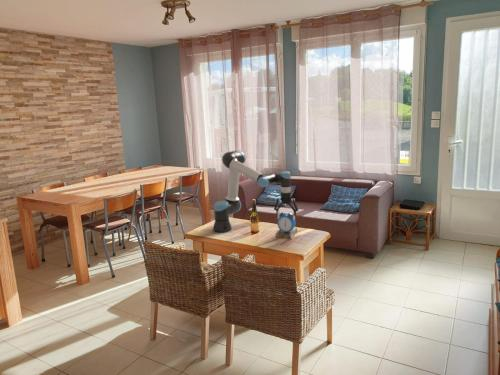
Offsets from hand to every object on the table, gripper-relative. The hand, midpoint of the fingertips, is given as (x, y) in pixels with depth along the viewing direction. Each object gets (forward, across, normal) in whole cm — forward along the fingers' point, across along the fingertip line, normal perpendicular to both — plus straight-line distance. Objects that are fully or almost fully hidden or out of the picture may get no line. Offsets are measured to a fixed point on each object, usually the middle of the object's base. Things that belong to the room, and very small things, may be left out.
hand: (286, 219), depth 313 cm
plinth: (+13, 0, 0) cm, 13 cm away
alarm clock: (+10, 0, 0) cm, 10 cm away
